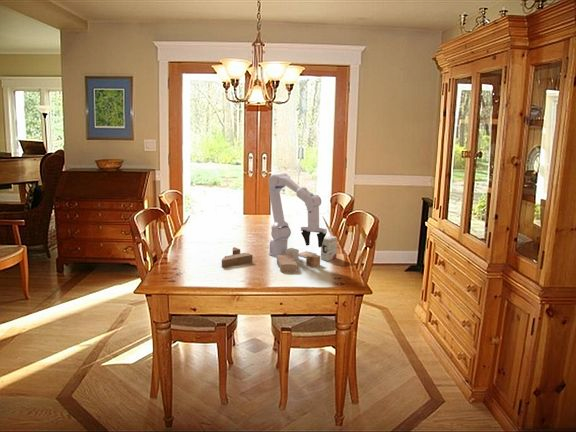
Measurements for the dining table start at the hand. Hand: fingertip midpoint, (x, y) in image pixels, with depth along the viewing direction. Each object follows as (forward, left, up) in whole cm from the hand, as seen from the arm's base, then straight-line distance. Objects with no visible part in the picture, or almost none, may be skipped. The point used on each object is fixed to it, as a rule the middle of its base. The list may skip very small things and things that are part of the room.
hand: (313, 246), depth 251 cm
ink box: (-1, +15, -10) cm, 18 cm away
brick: (-7, -12, -11) cm, 18 cm away
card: (-14, +12, -10) cm, 21 cm away
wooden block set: (-34, -25, -11) cm, 44 cm away
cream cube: (-15, +1, -10) cm, 18 cm away
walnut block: (0, 0, -10) cm, 10 cm away
